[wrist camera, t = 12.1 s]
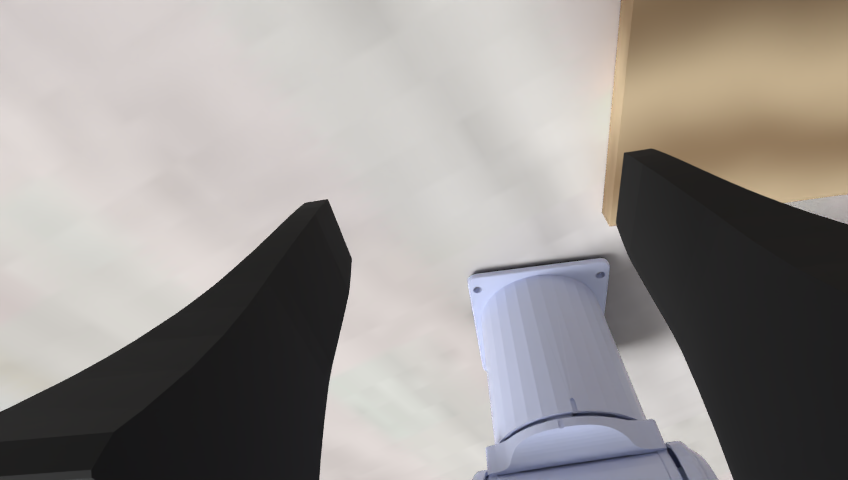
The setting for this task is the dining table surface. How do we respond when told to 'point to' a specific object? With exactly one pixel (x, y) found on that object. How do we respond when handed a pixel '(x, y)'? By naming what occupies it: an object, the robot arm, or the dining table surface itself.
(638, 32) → the board
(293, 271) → the robot arm
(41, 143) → the dining table surface
